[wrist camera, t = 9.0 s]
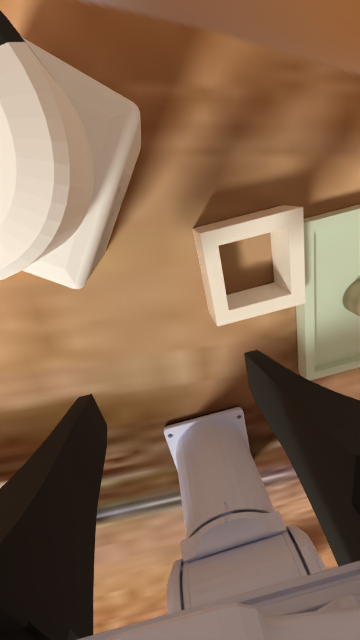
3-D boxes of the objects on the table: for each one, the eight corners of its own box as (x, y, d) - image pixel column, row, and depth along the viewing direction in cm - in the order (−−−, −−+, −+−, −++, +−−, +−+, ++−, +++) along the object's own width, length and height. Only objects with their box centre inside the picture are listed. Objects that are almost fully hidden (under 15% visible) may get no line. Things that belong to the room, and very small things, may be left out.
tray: (398, 345, 26) (411, 353, 25) (298, 372, 26) (306, 381, 25) (422, 187, 20) (441, 187, 19) (292, 221, 20) (302, 223, 19)
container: (-17, 209, 17) (-362, 243, 5) (7, 68, 15) (-554, -457, 3) (103, 258, 19) (42, 357, 8) (143, 142, 17) (144, 20, 5)
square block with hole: (287, 290, 22) (305, 303, 20) (208, 311, 22) (217, 326, 19) (282, 205, 19) (303, 206, 17) (192, 228, 19) (199, 233, 17)
